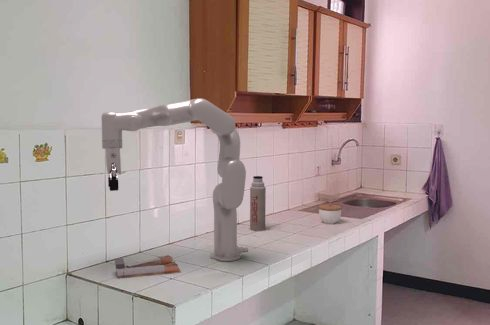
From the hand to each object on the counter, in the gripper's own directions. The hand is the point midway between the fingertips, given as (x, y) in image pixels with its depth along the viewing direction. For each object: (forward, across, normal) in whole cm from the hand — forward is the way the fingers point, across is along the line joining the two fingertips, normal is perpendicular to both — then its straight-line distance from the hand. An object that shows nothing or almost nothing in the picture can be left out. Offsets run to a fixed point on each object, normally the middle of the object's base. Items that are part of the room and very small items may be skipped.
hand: (113, 188), depth 193 cm
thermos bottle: (+31, +45, -75) cm, 93 cm away
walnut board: (+31, -10, -12) cm, 35 cm away
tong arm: (+30, -7, -13) cm, 33 cm away
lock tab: (+27, -13, -1) cm, 30 cm away
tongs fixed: (+30, -13, -11) cm, 35 cm away
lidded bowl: (+31, +49, -119) cm, 132 cm away
